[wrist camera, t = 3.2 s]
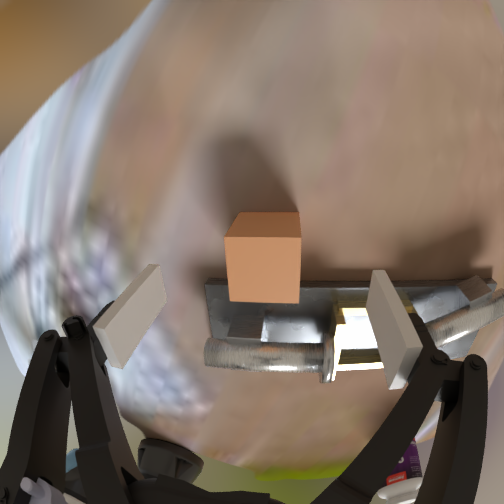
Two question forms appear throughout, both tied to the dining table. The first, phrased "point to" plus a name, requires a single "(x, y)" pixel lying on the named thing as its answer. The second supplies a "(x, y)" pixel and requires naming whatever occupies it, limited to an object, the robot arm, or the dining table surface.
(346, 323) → the board
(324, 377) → the shaft
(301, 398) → the dining table surface
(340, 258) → the dining table surface
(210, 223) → the dining table surface
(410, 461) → the pill bottle
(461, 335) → the shaft
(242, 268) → the block
